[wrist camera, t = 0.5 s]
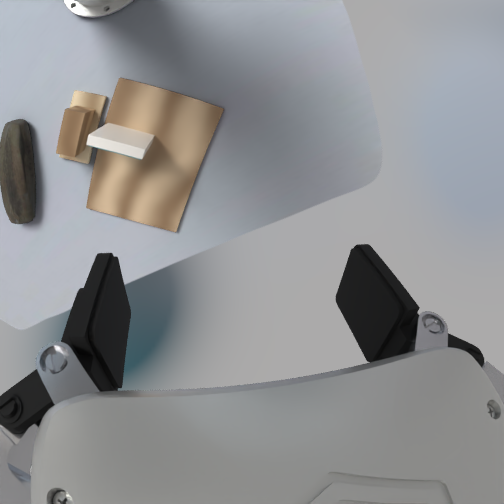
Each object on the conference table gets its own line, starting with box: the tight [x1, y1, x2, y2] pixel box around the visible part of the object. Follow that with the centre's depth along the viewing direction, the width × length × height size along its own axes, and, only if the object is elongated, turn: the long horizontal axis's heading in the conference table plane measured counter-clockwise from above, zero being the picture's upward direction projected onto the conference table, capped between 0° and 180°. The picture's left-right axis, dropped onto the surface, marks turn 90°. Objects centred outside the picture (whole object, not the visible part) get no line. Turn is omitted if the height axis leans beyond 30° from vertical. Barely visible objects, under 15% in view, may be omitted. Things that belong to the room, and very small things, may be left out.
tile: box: [86, 123, 155, 160], centre depth 31 cm, size 7×1×8 cm, turn 66°
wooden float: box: [56, 90, 107, 164], centre depth 30 cm, size 5×10×5 cm, turn 156°
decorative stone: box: [0, 119, 36, 224], centre depth 31 cm, size 17×6×4 cm, turn 165°
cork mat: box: [86, 78, 224, 232], centre depth 37 cm, size 15×20×1 cm
